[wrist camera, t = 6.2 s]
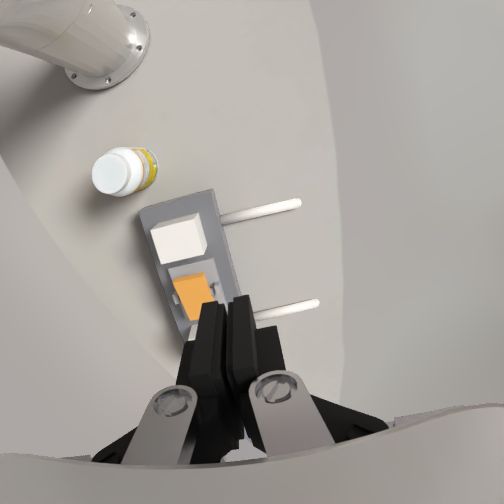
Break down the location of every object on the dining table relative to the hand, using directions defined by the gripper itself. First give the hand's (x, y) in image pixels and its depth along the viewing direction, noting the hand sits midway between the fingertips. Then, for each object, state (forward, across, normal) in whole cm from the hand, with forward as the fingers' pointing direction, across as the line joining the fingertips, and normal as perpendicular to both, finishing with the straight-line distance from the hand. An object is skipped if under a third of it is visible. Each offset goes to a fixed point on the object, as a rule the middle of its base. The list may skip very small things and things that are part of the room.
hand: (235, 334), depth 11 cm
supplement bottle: (+30, +11, -6) cm, 32 cm away
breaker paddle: (+24, +7, +9) cm, 27 cm away
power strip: (+29, +2, +9) cm, 31 cm away
